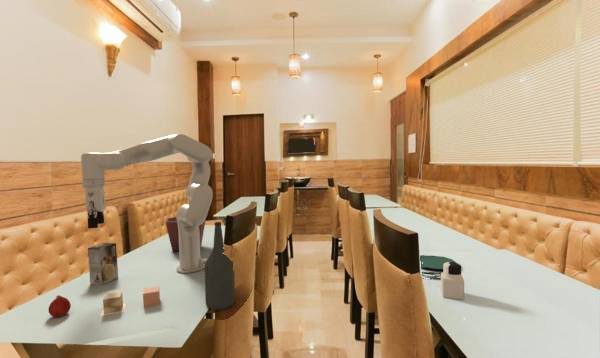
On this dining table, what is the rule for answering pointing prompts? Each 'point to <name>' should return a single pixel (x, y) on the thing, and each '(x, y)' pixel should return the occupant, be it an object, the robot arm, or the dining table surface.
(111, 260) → the coffee box
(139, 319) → the dining table surface
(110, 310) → the pale oak block
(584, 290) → the dining table surface
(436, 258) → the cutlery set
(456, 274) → the medicine bottle
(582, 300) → the dining table surface
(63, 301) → the onion
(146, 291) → the terracotta block
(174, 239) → the bucket
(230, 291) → the bottle
